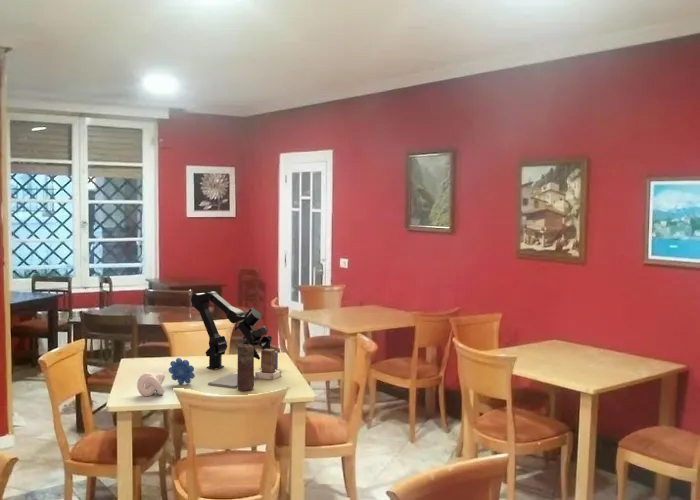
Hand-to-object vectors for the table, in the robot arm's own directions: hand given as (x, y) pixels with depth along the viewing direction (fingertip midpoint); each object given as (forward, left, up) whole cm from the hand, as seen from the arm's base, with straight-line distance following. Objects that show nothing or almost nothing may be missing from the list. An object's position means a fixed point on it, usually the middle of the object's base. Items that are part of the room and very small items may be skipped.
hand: (265, 357), depth 332 cm
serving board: (+15, -8, -9) cm, 20 cm away
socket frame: (0, +2, -9) cm, 9 cm away
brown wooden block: (0, +2, -9) cm, 9 cm away
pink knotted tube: (+48, -27, -9) cm, 56 cm away
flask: (-15, -6, -9) cm, 19 cm away
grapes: (+30, -26, -9) cm, 41 cm away
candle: (+24, +4, -9) cm, 26 cm away
